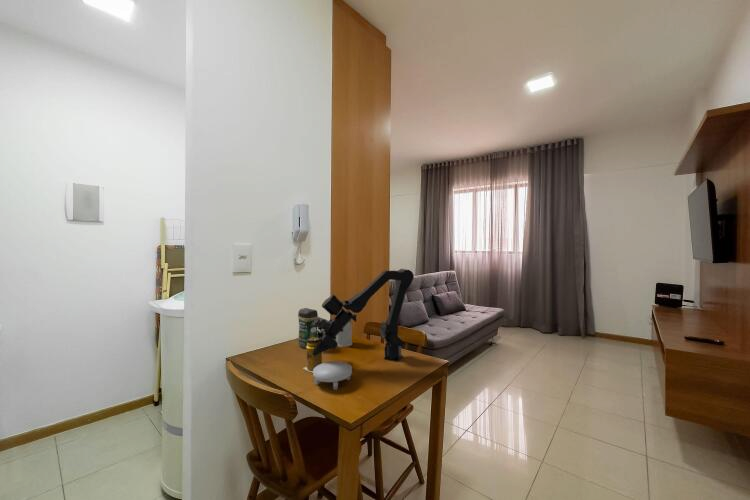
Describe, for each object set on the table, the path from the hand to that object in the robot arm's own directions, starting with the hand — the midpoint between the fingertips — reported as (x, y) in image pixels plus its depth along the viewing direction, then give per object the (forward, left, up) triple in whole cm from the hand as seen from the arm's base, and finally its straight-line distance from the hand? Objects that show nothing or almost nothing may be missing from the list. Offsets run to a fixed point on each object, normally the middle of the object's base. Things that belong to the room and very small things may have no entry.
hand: (312, 352), depth 119 cm
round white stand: (-14, +6, -7) cm, 17 cm away
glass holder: (+7, -32, -7) cm, 34 cm away
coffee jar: (+19, -20, -7) cm, 29 cm away
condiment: (-1, -1, -7) cm, 7 cm away
